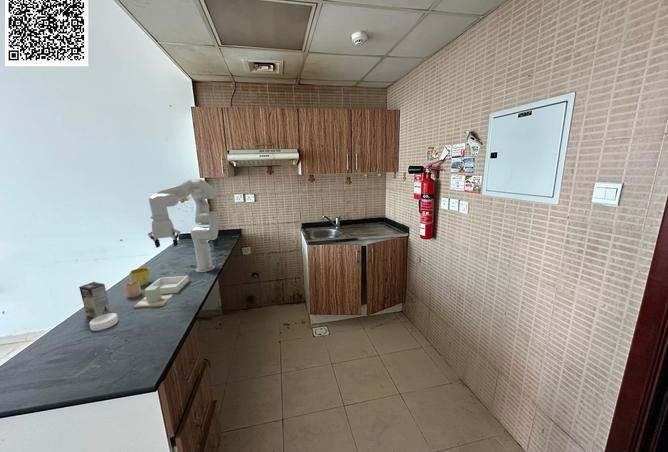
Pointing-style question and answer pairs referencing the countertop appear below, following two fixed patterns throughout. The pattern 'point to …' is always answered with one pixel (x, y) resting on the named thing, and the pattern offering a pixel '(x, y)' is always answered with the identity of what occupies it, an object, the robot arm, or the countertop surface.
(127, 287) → the terracotta cup
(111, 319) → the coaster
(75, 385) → the countertop surface
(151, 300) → the sage block
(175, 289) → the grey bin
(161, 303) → the pad
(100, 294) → the coffee box
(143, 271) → the plant pot
